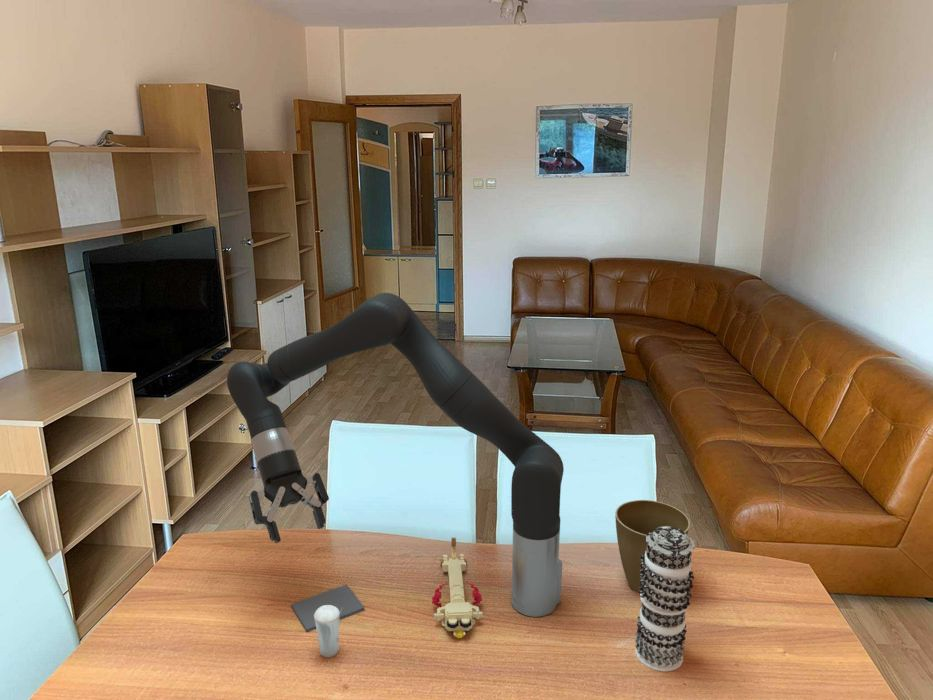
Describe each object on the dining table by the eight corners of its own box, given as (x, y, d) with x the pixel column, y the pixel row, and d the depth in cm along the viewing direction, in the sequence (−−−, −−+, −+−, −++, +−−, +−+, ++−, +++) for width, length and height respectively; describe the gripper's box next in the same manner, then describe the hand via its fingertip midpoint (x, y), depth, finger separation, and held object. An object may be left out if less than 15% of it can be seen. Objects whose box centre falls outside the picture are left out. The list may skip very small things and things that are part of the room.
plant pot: (646, 615, 134) (652, 544, 130) (596, 576, 147) (600, 510, 142) (698, 591, 142) (706, 523, 137) (646, 556, 154) (652, 492, 149)
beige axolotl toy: (431, 571, 151) (433, 641, 126) (430, 535, 149) (432, 598, 125) (475, 569, 151) (486, 638, 127) (475, 533, 150) (486, 596, 125)
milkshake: (343, 660, 122) (340, 613, 120) (314, 660, 122) (310, 613, 120) (348, 643, 127) (345, 597, 124) (319, 642, 127) (316, 596, 124)
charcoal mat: (346, 586, 143) (346, 584, 143) (364, 610, 136) (364, 607, 136) (291, 606, 137) (291, 603, 137) (306, 632, 130) (306, 629, 129)
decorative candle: (628, 636, 128) (637, 519, 121) (677, 637, 128) (689, 520, 121) (638, 672, 120) (649, 548, 113) (691, 673, 119) (705, 549, 112)
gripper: (242, 459, 127) (266, 543, 122) (314, 440, 134) (340, 519, 130) (236, 470, 133) (259, 551, 128) (305, 452, 140) (330, 527, 136)
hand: (300, 534), depth 129 cm, fingers open, 8 cm apart
